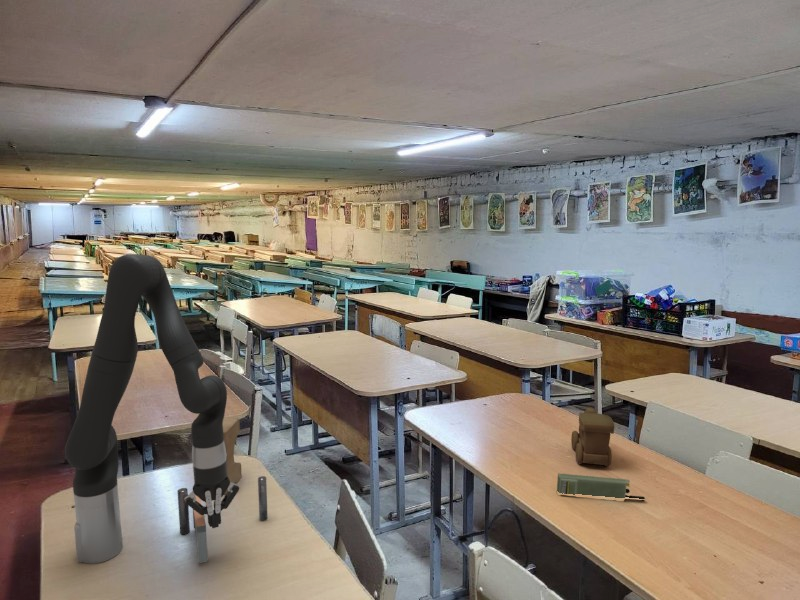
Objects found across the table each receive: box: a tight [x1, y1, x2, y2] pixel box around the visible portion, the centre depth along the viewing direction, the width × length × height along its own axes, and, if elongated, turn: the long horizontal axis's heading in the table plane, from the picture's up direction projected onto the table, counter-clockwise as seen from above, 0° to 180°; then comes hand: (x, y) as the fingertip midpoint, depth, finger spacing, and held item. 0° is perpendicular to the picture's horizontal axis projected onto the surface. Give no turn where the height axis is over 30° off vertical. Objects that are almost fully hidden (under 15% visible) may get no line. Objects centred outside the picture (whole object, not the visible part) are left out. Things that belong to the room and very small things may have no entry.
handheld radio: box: [556, 472, 646, 500], centre depth 156 cm, size 7×3×25 cm
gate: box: [192, 495, 209, 564], centre depth 131 cm, size 16×2×9 cm, turn 26°
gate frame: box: [177, 475, 268, 536], centre depth 140 cm, size 22×3×12 cm, turn 110°
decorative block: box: [223, 416, 243, 495], centre depth 160 cm, size 11×6×20 cm, turn 175°
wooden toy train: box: [570, 407, 615, 467], centre depth 181 cm, size 20×11×17 cm, turn 170°
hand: (214, 526), depth 127 cm, fingers closed
